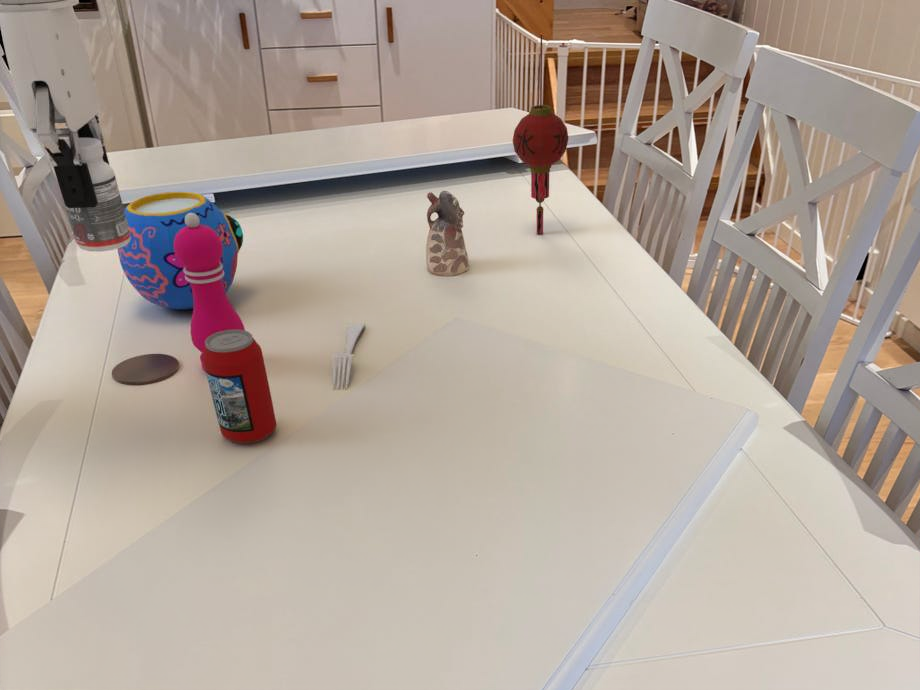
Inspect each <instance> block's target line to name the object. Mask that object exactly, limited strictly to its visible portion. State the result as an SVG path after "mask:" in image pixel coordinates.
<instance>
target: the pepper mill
mask: <svg viewBox="0 0 920 690" xmlns="http://www.w3.org/2000/svg"><path fill="white" fill-rule="evenodd" d="M199 222H200V221H199V217H198V216H197V215H196V214H194V213H188V214H187V215H186V216H185V223H186V225H187V226H186V227H184V228H183V229H181V230H180V231H179V232H178V233H177V234H176V236H175V239H174V251H175V255H176V257H177V259H178V260H179V261H180V262H181V263H182V264H183V265H185V267H184V269H183V271H184V273H185V279H186V280H187V281H188V282H190V285H191V288H192V293H193V299H194V308H193V311H192V315H191V320H190V321H191V322H190V339H191V342H192V344H193V346H194V347H195V348H196V349H197V350H198V351H200V352H201V354H200V355H199V359H200V364H201V368H202V371H204V372H205V373H206V371H205V366H204V362H203V358H202V356H203V352H204V349H205V345H206V344H205V341H206V339H207V338H208V337H209V336H211V335H212V334H215V333H217V332H221V331H225V330H244V331H246V328H245V325H244V323H243V321H242V319H241V316H240V315H239V313H237V310H235V308H234V306H233V305H232V303H231V301H230V300H229V297H228V296H227V292H226V293H225V290H224V287H223V281H222V277H223V276H224V271H223V269H222V268H223V265H222V263H220V262H219V260H220V258H221V256H222V254H223V245H222V242H221V239H220V237H219V236H218V234H217V233H216V232H215V231H214V230H213V229H211V228H210V227H208V226H205V225H199Z"/></svg>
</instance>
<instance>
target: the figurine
mask: <svg viewBox="0 0 920 690" xmlns="http://www.w3.org/2000/svg"><path fill="white" fill-rule="evenodd" d="M426 198H427V200H428V201H429V202H430V203H431V205H429V207H428V209H427V212H426V221H427V223H428V226H429V230H428V234H427V238H426V246H425V262H426V263H425V264H426V268H427V271H428V272H429V273H430V274H433V275H435V276H441V277H451V276H457V275H460V274H463V273H464V272H468V271H469V270H470V262H469V261H470V260H469V255H468V252H467V248H466V243H465V238H464V234H463V231H462V228H464V221H463V219H464V218H463V217H464V215H465V211H464V210H463V208H462V207H460V202H459V200H458V199H457V197H456V196H454V194H453V193H451V192H450V191H448V190H442V191H440V193H439V195H438V197H437V196H436V194H434V193H433V192H432V191H429V192H428V193H427V194H426ZM434 213H436V214H437V216H438V217H437V218H436V219H434V220H432V219H431V217H432V215H433V214H434Z"/></svg>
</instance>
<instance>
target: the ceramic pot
mask: <svg viewBox="0 0 920 690" xmlns="http://www.w3.org/2000/svg"><path fill="white" fill-rule="evenodd" d="M124 212H125V215H126V219H127V223H128V227H129V231H130V235H131V240H130V242H129V243H128V244H127V245H125V246H123V247H121V248H118V249H117V253H118V259H119V263H120V267H121V268H122V271H123V273H124V275H125V277H126V279H127V280H128V282H129V283H130V285H131V286H132V287H133V288H134V289H135V291H136V292H138V294H139V295H140V296H141V297H142V298H143V299H145V300H147V301H148V302H149V303H151V304H154V305H156V306H158V307H163V308H167V309H170V310H192V309H194V299H193V293H192V288H191V285H190V282H188V281H187V280H186V279H185V273H184V271H183V269H184V267H185V265H183V264H182V263H181V262H180V261H179V260H178V259H177V257H176V255H175V251H174V239H175V236H176V234H177V233H178V232H179V231H180V230H181V229H183V228H184V227H186V226H187V225H186V223H185V216H186V215H187V214H188V213H194V214H196V215H197V216H198V217H199V221H200V222H199V225H205V226H208V227H210V228H211V229H213V230H214V231H215V232H216V233H217V234H218V236H219V237H220V239H221V242H222V245H223V254H222V256H221V258H220V260H219V262H220V263H222V265H223V268H222V269H223V271H224V276H223V277H222V281H223V287H224V290H225V293H226V294H227V292H228V291H229V289H230V288H231V286H232V284H233V282H234V279H235V277H236V272H237V267H238V256H239V252H240V250H241V248H242V246H243V242H244V234H243V233H244V232H243V229H242V227H241V224H240V223H239V221H238V220H237V219H235V218H234V217H233V216H231V215H228V214H226V213H224V212H223V211H222V210H221V209H220V208H219V207H218V205H216V204H215V203H214V202H212V201H211V200H210V199H208V198H207V197H206V196H204V195H202V194H199V193H196V192H192V191H191V192H190V191H167V192H161V193H155V194H154V193H153V194H149V195H147V196H143V197H139V198H137V199H135V200H133V201H132V202H130V203H129V204H128V205H127V206H126V207H125V208H124Z"/></svg>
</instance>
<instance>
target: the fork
mask: <svg viewBox="0 0 920 690" xmlns="http://www.w3.org/2000/svg"><path fill="white" fill-rule="evenodd" d="M364 327H365V323H350V324H348V325H347V327H346V346H345V351H344V353H341V354H339V353H338V354H334V355H332V386H333V387H332V390H333V391H334V390H335V387H336V386H335V385H336V376H337V390H339V389H340V381H341V390H344V383H345V390H348V385H349V379H350V375H351V374H350V373H351V369H352V363H353V358H354V356H355V355H356V354H355V353H352V352H353V348H354V346H355V343H356V342H357V339H358V337H359V336H360V335H361V332H362V331H363V329H364ZM336 374H337V375H336ZM345 375H346V376H345ZM344 381H345V382H344Z"/></svg>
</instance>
